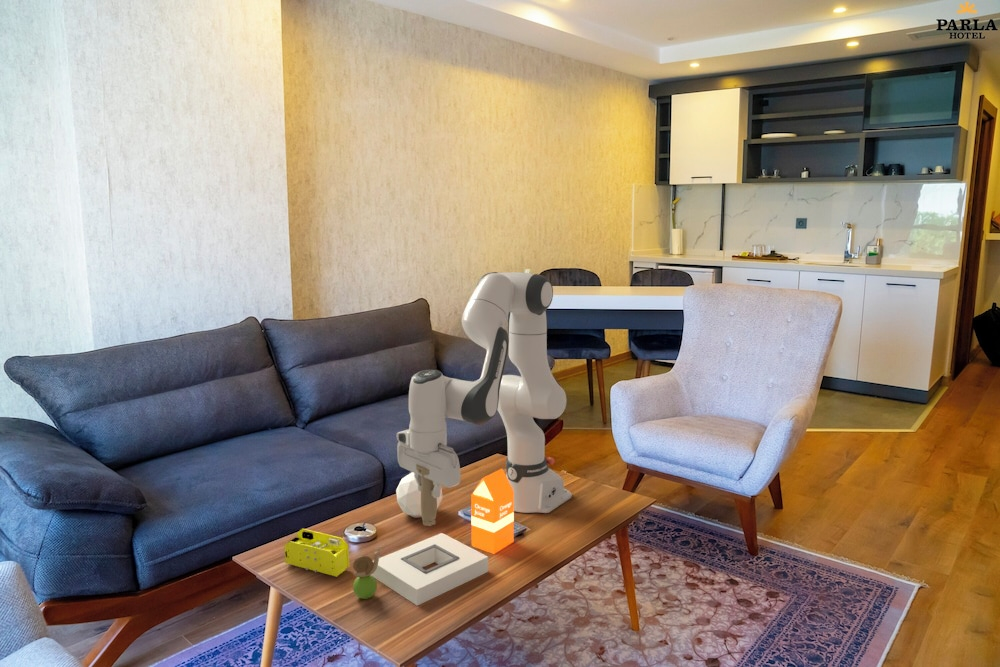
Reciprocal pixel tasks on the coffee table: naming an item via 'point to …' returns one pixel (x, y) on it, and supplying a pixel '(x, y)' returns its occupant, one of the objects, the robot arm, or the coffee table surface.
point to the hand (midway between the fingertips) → (428, 493)
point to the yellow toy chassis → (318, 552)
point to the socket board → (422, 584)
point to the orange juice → (492, 513)
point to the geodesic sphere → (411, 496)
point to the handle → (427, 498)
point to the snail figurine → (365, 575)
